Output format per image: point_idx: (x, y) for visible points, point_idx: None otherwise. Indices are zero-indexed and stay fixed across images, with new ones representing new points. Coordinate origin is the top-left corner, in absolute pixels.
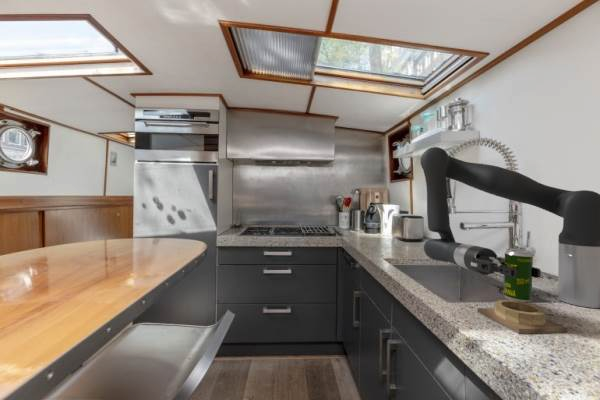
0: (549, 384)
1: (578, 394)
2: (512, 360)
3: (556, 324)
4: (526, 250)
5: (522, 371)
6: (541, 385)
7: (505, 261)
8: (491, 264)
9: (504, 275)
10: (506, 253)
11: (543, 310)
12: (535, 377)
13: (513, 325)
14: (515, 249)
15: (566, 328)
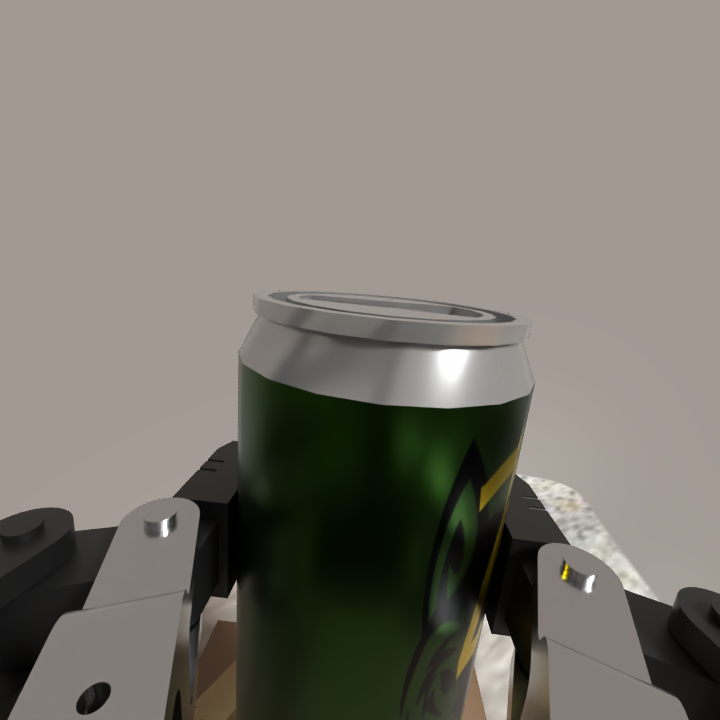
0: (548, 492)
1: (516, 474)
2: (589, 548)
3: (222, 656)
4: (273, 293)
5: (583, 520)
6: (565, 493)
7: (509, 492)
8: (712, 601)
9: (472, 664)
10: (530, 377)
11: (233, 665)
12: (564, 505)
13: (472, 698)
14: (358, 309)
15: (220, 625)
